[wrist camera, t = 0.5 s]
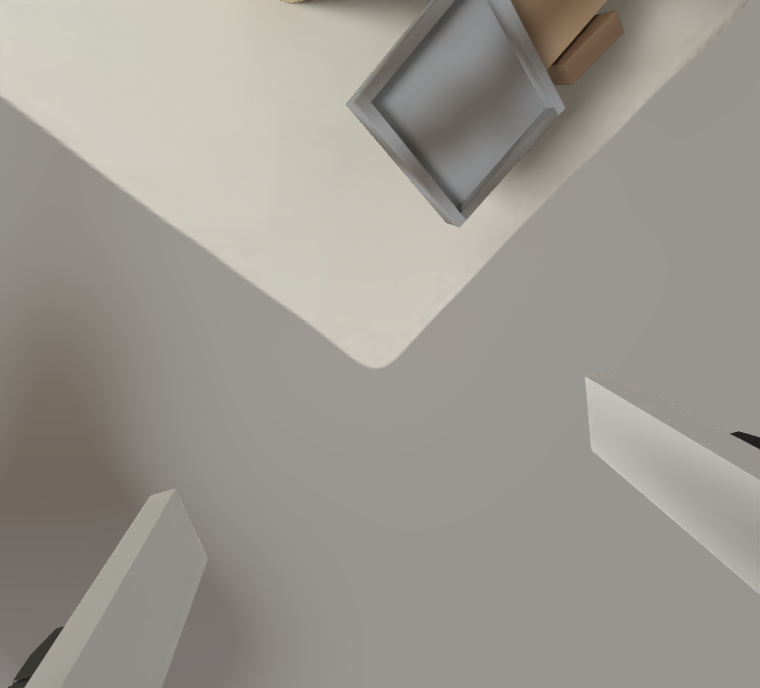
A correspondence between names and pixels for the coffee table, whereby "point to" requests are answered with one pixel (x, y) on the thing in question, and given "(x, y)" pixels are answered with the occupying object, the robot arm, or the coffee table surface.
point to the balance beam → (468, 93)
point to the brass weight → (293, 1)
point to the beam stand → (586, 48)
